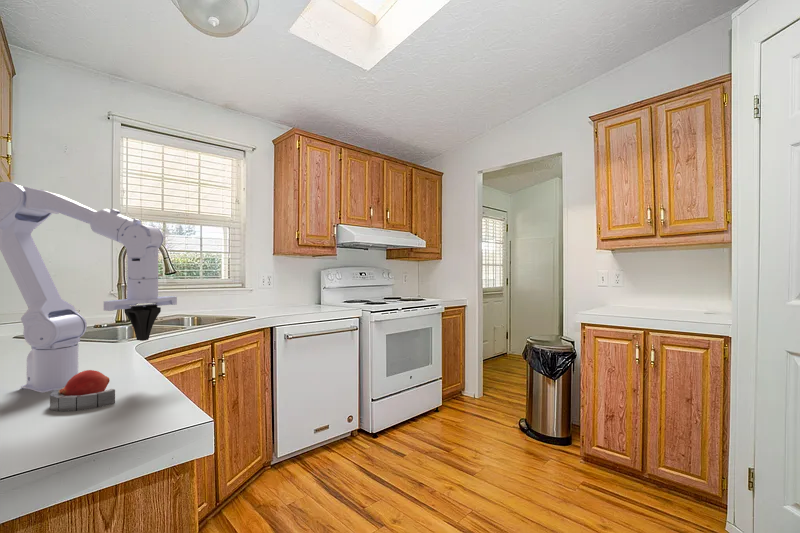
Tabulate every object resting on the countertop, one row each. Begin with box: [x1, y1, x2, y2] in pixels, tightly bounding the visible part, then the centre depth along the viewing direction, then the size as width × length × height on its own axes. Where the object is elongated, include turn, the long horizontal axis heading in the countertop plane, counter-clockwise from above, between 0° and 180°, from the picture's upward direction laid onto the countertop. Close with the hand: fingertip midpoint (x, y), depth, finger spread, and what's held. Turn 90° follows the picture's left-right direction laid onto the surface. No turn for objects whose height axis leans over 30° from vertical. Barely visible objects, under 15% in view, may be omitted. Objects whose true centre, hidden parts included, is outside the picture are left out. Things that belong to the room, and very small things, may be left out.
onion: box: [59, 369, 110, 396], centre depth 72 cm, size 6×6×8 cm
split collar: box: [49, 386, 116, 413], centre depth 71 cm, size 11×7×3 cm, turn 65°
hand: (142, 340), depth 84 cm, fingers closed
